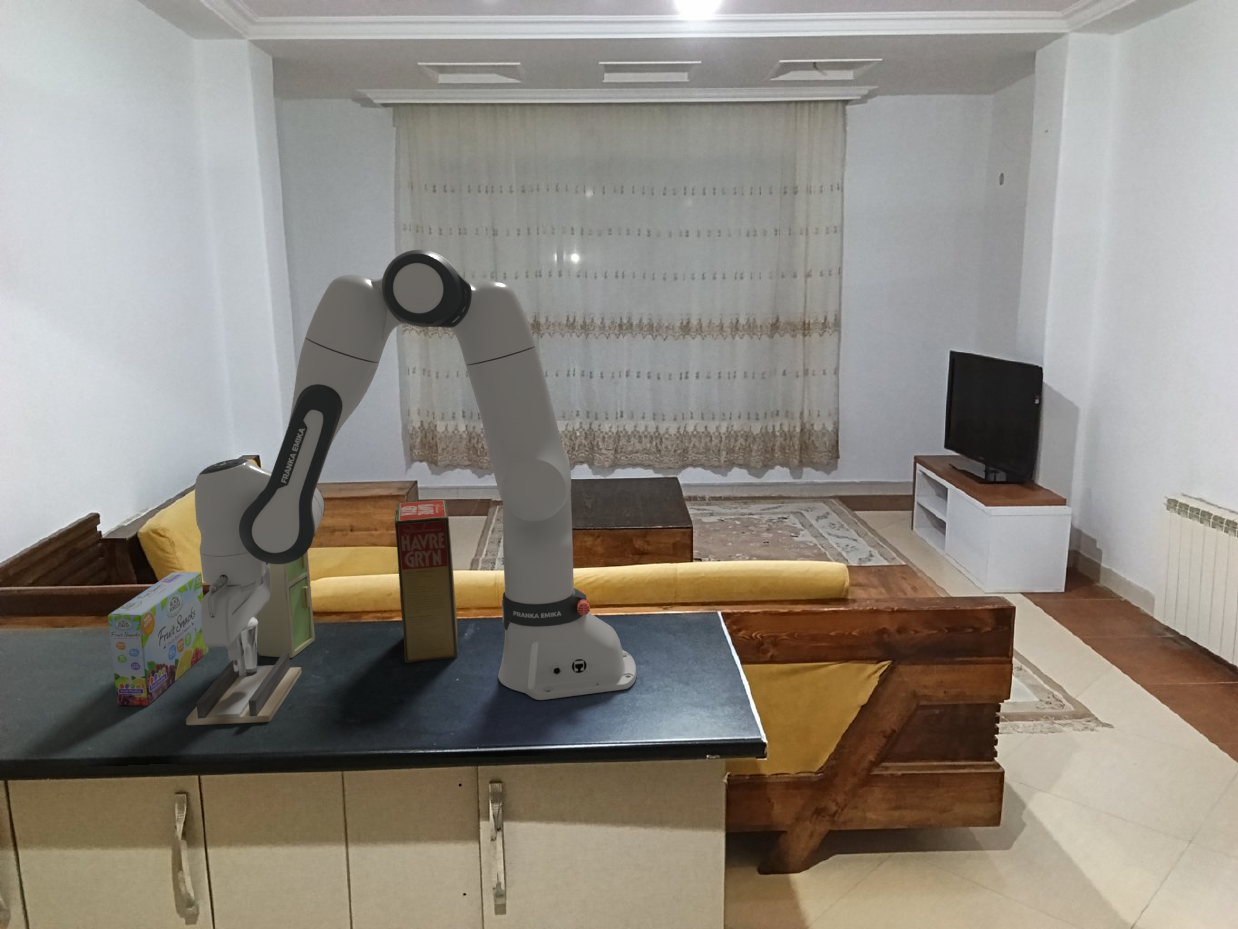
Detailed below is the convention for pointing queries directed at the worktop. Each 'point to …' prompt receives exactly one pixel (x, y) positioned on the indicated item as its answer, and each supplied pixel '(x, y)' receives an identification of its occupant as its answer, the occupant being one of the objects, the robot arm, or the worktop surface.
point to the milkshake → (247, 651)
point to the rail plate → (245, 695)
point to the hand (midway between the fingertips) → (242, 651)
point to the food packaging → (426, 580)
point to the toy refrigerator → (287, 611)
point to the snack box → (157, 637)
